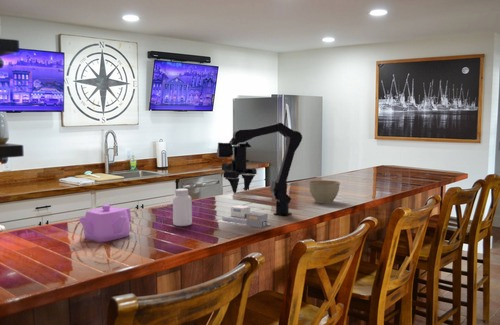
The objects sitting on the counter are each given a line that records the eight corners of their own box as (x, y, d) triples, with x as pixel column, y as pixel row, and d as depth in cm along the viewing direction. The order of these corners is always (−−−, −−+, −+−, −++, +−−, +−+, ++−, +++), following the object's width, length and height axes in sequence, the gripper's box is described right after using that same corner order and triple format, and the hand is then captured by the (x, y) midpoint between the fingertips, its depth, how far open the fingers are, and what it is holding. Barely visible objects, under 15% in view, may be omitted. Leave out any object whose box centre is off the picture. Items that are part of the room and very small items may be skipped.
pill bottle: (174, 227, 202) (173, 191, 201) (172, 222, 210) (171, 188, 208) (193, 225, 204) (192, 190, 203) (190, 221, 212) (189, 187, 210)
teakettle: (132, 231, 196) (131, 200, 195) (126, 241, 179) (125, 208, 178) (88, 232, 194) (87, 201, 193) (79, 243, 177) (77, 210, 176)
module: (237, 214, 226) (237, 205, 226) (250, 216, 222) (250, 206, 222) (230, 216, 222) (230, 207, 221) (243, 218, 218) (243, 208, 217)
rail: (227, 218, 217) (227, 214, 217) (270, 224, 205) (270, 220, 205) (217, 222, 211) (217, 218, 211) (260, 228, 199) (260, 224, 198)
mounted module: (253, 222, 208) (253, 211, 208) (267, 224, 204) (267, 213, 204) (246, 224, 204) (246, 213, 203) (260, 226, 200) (260, 215, 199)
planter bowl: (345, 203, 252) (345, 183, 251) (318, 206, 246) (318, 184, 245) (329, 198, 267) (329, 179, 266) (303, 201, 261) (303, 180, 260)
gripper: (237, 155, 232) (237, 187, 233) (213, 158, 216) (213, 192, 218) (257, 156, 225) (257, 189, 227) (234, 159, 210) (234, 195, 211)
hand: (240, 191), depth 221 cm, fingers open, 9 cm apart
